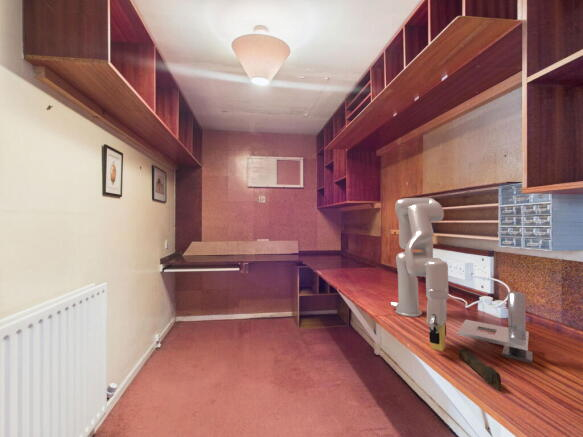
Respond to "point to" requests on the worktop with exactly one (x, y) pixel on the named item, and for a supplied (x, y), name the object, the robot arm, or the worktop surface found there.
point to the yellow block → (442, 339)
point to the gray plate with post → (505, 330)
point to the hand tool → (481, 368)
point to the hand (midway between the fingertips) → (438, 338)
